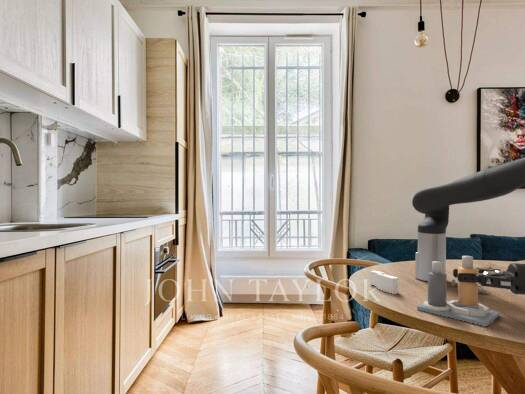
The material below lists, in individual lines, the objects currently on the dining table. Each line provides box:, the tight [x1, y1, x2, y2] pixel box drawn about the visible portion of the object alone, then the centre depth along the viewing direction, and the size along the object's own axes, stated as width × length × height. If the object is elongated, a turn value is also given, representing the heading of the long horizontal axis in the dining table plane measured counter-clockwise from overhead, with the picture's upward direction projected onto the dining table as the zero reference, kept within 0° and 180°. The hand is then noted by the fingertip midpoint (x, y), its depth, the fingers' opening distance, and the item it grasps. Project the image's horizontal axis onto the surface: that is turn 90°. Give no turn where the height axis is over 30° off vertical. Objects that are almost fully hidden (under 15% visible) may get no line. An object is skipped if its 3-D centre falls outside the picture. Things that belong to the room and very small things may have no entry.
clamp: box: [450, 278, 488, 295], centre depth 110 cm, size 15×2×10 cm
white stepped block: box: [369, 270, 399, 295], centre depth 111 cm, size 15×11×6 cm
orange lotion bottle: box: [457, 255, 479, 306], centre depth 87 cm, size 4×4×12 cm
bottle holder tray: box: [416, 261, 501, 327], centre depth 87 cm, size 16×11×13 cm
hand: (455, 275), depth 88 cm, fingers closed on orange lotion bottle, 4 cm apart
